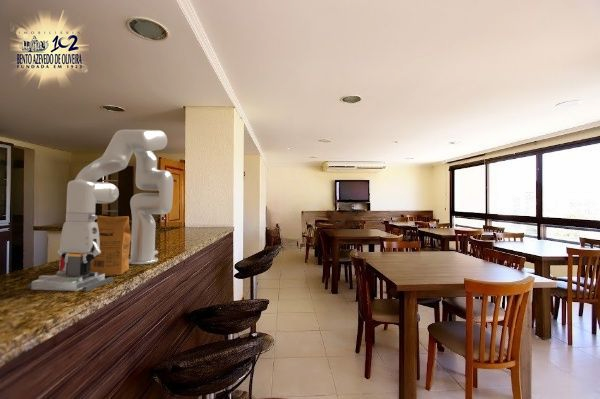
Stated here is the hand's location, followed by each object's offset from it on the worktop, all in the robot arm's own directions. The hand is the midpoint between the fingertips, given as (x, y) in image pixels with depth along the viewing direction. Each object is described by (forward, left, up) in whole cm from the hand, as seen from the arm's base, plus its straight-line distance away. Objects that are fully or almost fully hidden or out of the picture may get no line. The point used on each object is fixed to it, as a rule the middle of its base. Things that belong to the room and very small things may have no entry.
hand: (78, 273), depth 91 cm
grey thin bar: (0, +7, -4) cm, 8 cm away
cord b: (0, -11, -4) cm, 12 cm away
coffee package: (-15, 0, -4) cm, 16 cm away
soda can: (-11, -12, -4) cm, 16 cm away
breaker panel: (0, -2, -4) cm, 4 cm away
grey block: (0, 0, -1) cm, 1 cm away
